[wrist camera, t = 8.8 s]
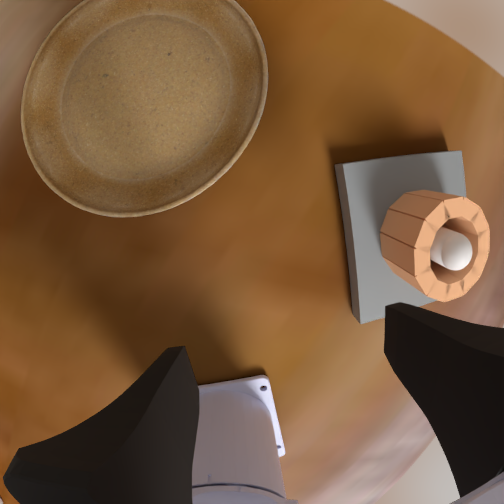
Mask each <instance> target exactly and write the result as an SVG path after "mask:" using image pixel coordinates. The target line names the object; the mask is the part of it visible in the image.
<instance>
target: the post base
mask: <svg viewBox="0 0 504 504" xmlns="http://www.w3.org/2000/svg"><path fill="white" fill-rule="evenodd" d="M335 171H336V177H337V183H338V190H339V196H340V203H341V210H342V217H343V224H344V232H345V240H346V248H347V257H348V266H349V276H350V287H351V298H352V311H353V315H354V317H355V318H356V319H357V320H358V322H359V323H360V324H363V323H367V322H370V321H374V320H377V319H380V318H384V317H385V306H387V305H390V304H394V303H398V302H402V303H407V304H410V305H414V306H417V307H419V306H422V305H425V304H428V303H431V302H434V301H437V300H436V299H433V298H430V297H427V296H426V295H424V294H423V293H422V292H420V291H419V290H417V289H416V288H414V287H413V286H412V285H410V284H409V283H407V282H406V281H405V280H403V279H402V278H400V277H399V276H397V275H396V274H394V273H393V272H392V270H391V269H390V267H389V266H388V264H387V263H386V261H385V260H384V258H383V257H382V253H381V241H380V233H381V231H380V230H381V227H382V224H383V222H384V219H385V216H386V213H387V210H388V209H389V207H390V206H391V205H392V204H393V203H395V202H396V201H397V200H398V199H399V198H400V197H401V196H402V195H403V194H404V193H405V194H406V192H412V191H418V190H429V191H435V192H441V193H446V194H452V195H457V196H463V197H465V198H466V188H465V177H464V168H463V159H462V151H442V152H431V153H421V154H411V155H402V156H394V157H385V158H377V159H370V160H362V161H355V162H348V163H341V164H335ZM389 210H390V209H389ZM471 257H472V246H471V243H470V241H469V239H468V238H467V237H466V236H464V235H463V234H461V233H458V232H455V231H452V230H449V229H447V228H444V227H440V228H439V229H438V230H437V232H436V235H435V237H434V240H433V243H432V245H431V248H430V260H432V261H434V262H436V263H438V264H440V265H442V266H444V267H446V268H447V269H450V270H454V271H455V270H461V269H463V268H464V267H466V266H467V265H468V264H469V262H470V260H471Z"/></svg>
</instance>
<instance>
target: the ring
mask: <svg viewBox="0 0 504 504" xmlns="http://www.w3.org/2000/svg"><path fill="white" fill-rule="evenodd" d="M389 209H390V210H389ZM389 209H388V210H387V213H386V216H385V219H384V222H383V224H382V227H381V230H380V231H381V233H380V241H381V253H382V257H383V258H384V260H385V261H386V263H387V264H388V266H389V267H390V269H391V270H392V272H393V273H394V274H396V275H397V276H399V277H400V278H402V279H403V280H405V281H406V282H407V283H409V284H410V285H412V286H413V287H414V288H416V289H417V290H419V291H420V292H422V293H423V294H424V295H426V296H427V297H430V298H433V299H436V300H439V301H442V302H447V301H450V300H453V299H455V298H458V297H461V296H463V294H464V295H465V294H466V292H467V291H468V290H469V289H470V288H471V287H472V286H473V285H474V284H475V283H476V281H477V280H478V279H479V276H481V274H482V271H483V269H484V266H485V263H486V261H487V258H488V255H489V254H488V253H489V237H490V229H488V228H489V226H488V223H487V221H486V218H485V216H484V214H483V212H482V209H481V208H480V207H479V206H478V205H476V204H475V203H473V202H472V201H470V200H469V199H467V198H465V197H463V196H457V195H452V194H446V193H441V192H435V191H429V190H418V191H412V192H406V194H405V193H404V194H403V195H402V196H401V197H400V198H399V199H398V200H397V201H396V202H395V203H393V204H392V205H391V206H390V207H389ZM440 227H444V228H447V229H449V230H452V231H455V232H458V233H461V234H463V235H464V236H466V237H467V238H468V239H469V241H470V243H471V246H472V257H471V260H470V262H469V264H468V265H467V266H466V267H464V268H463V269H461V270H455V271H454V270H450V269H447V268H446V267H444V266H442V265H440V264H438V263H436V262H434V261H432V260H430V248H431V245H432V243H433V240H434V237H435V235H436V232H437V230H438V229H439V228H440Z"/></svg>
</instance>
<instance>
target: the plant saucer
mask: <svg viewBox="0 0 504 504" xmlns="http://www.w3.org/2000/svg"><path fill="white" fill-rule="evenodd" d="M267 88H268V65H267V57H266V52H265V47H264V44H263V41H262V39H261V36H260V34H259V32H258V30H257V28H256V26H255V24H254V23H253V21H252V19H251V18H250V17H249V15H248V14H247V13H246V12H245V10H244V9H243V8H242V7H241V6H240V5H239V4H238V3H237V2H236V1H235V0H84V1H82V2H81V3H79V4H78V5H77V6H75V7H74V8H73V9H72V10H71V11H69V12H68V13H67V14H66V15H65V16H64V17H63V18H62V19H61V20H60V21H59V22H58V23H57V24H56V25H55V27H54V28H53V29H52V30H51V31H50V33H49V34H48V36H47V37H46V38H45V40H44V41H43V43H42V45H41V46H40V48H39V50H38V52H37V53H36V55H35V57H34V59H33V62H32V64H31V66H30V69H29V72H28V74H27V77H26V81H25V84H24V89H23V95H22V104H21V127H22V133H23V140H24V143H25V147H26V149H27V152H28V155H29V157H30V159H31V161H32V163H33V165H34V167H35V169H36V171H37V172H38V174H39V175H40V177H41V178H42V180H43V181H44V182H45V183H46V184H47V185H48V186H49V187H50V188H51V189H52V190H53V191H54V192H55V193H56V194H58V195H59V196H60V197H61V198H63V199H64V200H65V201H67V202H69V203H70V204H72V205H74V206H76V207H78V208H80V209H82V210H85V211H88V212H91V213H95V214H98V215H102V216H110V217H137V216H144V215H150V214H154V213H158V212H162V211H165V210H168V209H171V208H173V207H175V206H178V205H180V204H182V203H184V202H186V201H188V200H190V199H192V198H193V197H195V196H197V195H198V194H200V193H202V192H203V191H204V190H206V189H207V188H208V187H210V186H211V185H212V184H213V183H215V182H216V181H217V180H218V179H219V178H220V177H221V176H222V175H223V174H224V173H225V172H226V171H227V170H228V169H229V168H230V167H231V166H232V165H233V164H234V163H235V161H236V160H237V159H238V157H239V156H240V155H241V154H242V152H243V151H244V149H245V148H246V146H247V145H248V143H249V142H250V140H251V138H252V137H253V135H254V132H255V131H256V129H257V126H258V124H259V121H260V118H261V116H262V113H263V110H264V105H265V100H266V95H267Z"/></svg>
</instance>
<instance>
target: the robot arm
mask: <svg viewBox="0 0 504 504" xmlns="http://www.w3.org/2000/svg"><path fill="white" fill-rule="evenodd" d="M384 353H385V355H386V357H387V359H388V361H389V363H390V365H391V367H392V369H393V371H394V372H395V374H396V375H397V377H398V378H399V379H400V381H401V382H402V384H403V385H404V386H405V388H406V389H407V390H408V392H409V393H410V395H411V396H412V397H413V399H414V400H415V401H416V403H417V404H418V406H419V407H420V408H421V410H422V411H423V413H424V414H425V416H426V417H427V419H428V421H429V422H430V424H431V426H432V428H433V430H434V432H435V434H436V436H437V438H438V440H439V442H440V444H441V447H442V449H443V451H444V453H445V455H446V458H447V460H448V463H449V465H450V468H451V471H452V473H453V476H454V479H455V482H456V485H457V488H458V491H459V495H460V499H458V500H456V501H454V502H452V503H451V504H504V328H498V327H490V326H484V325H479V324H474V323H469V322H466V321H462V320H458V319H454V318H451V317H448V316H444V315H441V314H438V313H435V312H432V311H429V310H426V309H423V308H420V307H417V306H414V305H410V304H407V303H402V302H398V303H394V304H390V305H387V306H385V340H384ZM261 386H266V387H265V388H261ZM277 445H278V446H277ZM284 454H285V448H284V444H283V439H282V435H281V431H280V426H279V422H278V418H277V413H276V409H275V404H274V400H273V396H272V391H271V387H270V382H269V378H268V377H267V376H265V375H258V376H253V377H248V378H243V379H237V380H231V381H225V382H219V383H213V384H207V385H200V386H198V385H197V382H196V379H195V376H194V373H193V370H192V367H191V364H190V361H189V358H188V355H187V352H186V348H185V346H179V347H171V348H168V349H166V350H165V351H164V352H163V353H162V354H161V355H160V356H159V357H158V359H157V360H156V361H155V362H154V363H153V364H152V365H151V366H150V367H149V368H148V369H147V370H146V371H145V372H144V373H143V374H142V375H141V377H140V378H139V379H138V380H136V381H135V382H134V383H133V384H132V385H131V386H130V387H129V388H128V389H127V390H126V391H125V392H124V393H123V394H122V395H120V396H119V397H118V398H117V399H116V400H114V401H113V402H112V403H111V404H109V405H108V406H107V407H105V408H104V409H102V410H101V411H100V412H98V413H97V414H95V415H93V416H92V417H90V418H89V419H87V420H85V421H84V422H82V423H80V424H79V425H77V426H75V427H73V428H71V429H69V430H67V431H65V432H63V433H61V434H59V435H56V436H54V437H52V438H49V439H47V440H44V441H41V442H38V443H35V444H32V445H29V446H26V447H22V448H19V449H18V451H17V452H16V454H15V456H14V458H13V460H12V461H11V463H10V465H9V467H8V469H7V471H6V473H5V475H4V476H3V480H4V484H5V486H6V488H7V489H8V491H9V492H10V493H11V495H12V496H13V497H14V498H15V499H16V500H17V501H18V502H19V503H20V504H298V500H290V499H286V493H285V488H284V482H283V477H282V471H281V466H280V460H279V457H281V456H283V455H284Z"/></svg>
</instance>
